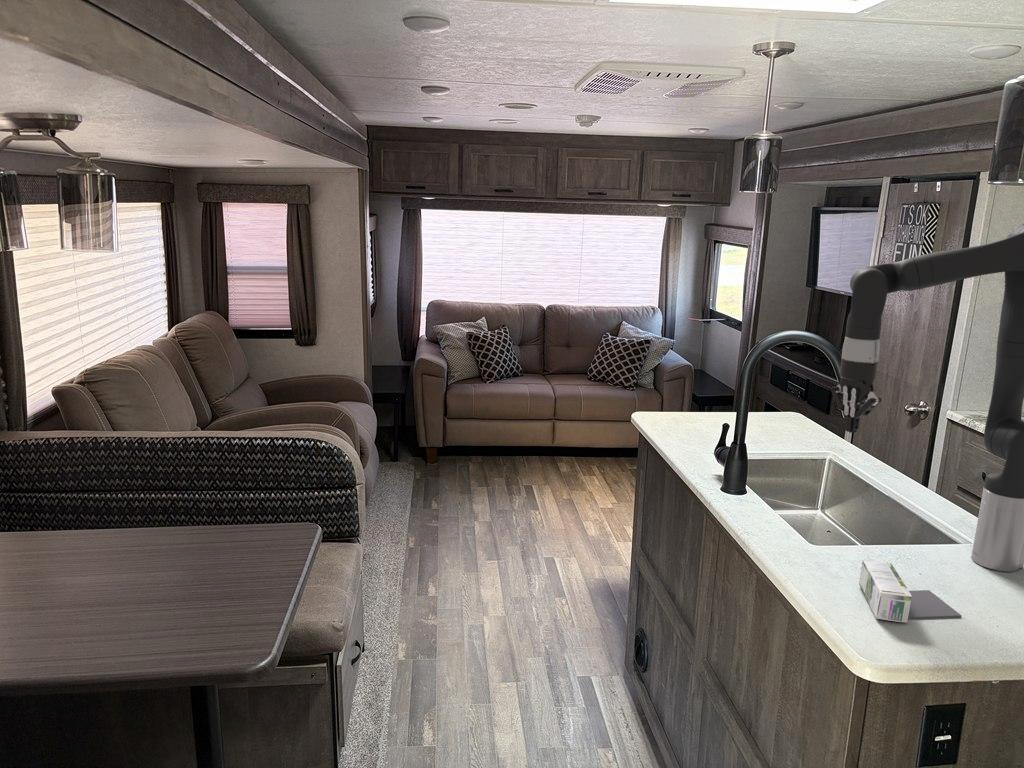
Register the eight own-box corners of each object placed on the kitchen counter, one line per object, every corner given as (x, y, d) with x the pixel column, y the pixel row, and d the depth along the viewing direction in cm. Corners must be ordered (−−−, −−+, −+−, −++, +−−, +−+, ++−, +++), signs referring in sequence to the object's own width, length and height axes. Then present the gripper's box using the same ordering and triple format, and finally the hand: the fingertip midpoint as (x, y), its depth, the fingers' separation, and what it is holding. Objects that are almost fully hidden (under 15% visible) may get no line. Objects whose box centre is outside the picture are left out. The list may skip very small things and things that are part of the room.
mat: (928, 591, 157) (929, 590, 157) (961, 617, 148) (961, 615, 148) (865, 593, 156) (865, 591, 156) (893, 619, 146) (893, 617, 146)
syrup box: (887, 587, 158) (909, 624, 144) (857, 584, 159) (876, 620, 145) (891, 562, 157) (914, 596, 143) (861, 559, 158) (881, 592, 144)
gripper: (824, 353, 174) (816, 425, 178) (870, 364, 163) (861, 441, 167) (849, 351, 177) (841, 422, 181) (896, 362, 165) (886, 438, 169)
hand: (850, 431), depth 174 cm, fingers closed
